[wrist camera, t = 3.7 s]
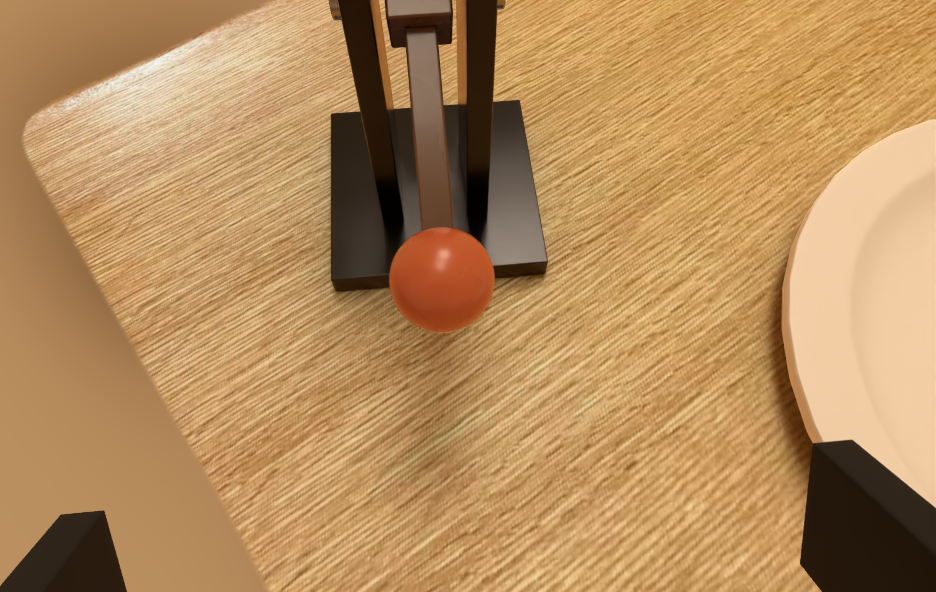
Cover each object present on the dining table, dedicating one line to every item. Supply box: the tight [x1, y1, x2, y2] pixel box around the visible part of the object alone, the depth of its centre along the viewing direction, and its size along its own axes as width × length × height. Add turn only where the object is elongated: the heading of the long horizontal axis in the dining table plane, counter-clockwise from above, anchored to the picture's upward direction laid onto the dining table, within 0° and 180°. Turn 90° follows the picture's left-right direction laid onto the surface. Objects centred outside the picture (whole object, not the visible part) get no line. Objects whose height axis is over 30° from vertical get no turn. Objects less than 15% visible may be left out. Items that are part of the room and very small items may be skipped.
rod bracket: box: [329, 0, 548, 291], centre depth 27 cm, size 10×10×14 cm
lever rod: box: [385, 0, 495, 332], centre depth 23 cm, size 13×4×4 cm, turn 5°
